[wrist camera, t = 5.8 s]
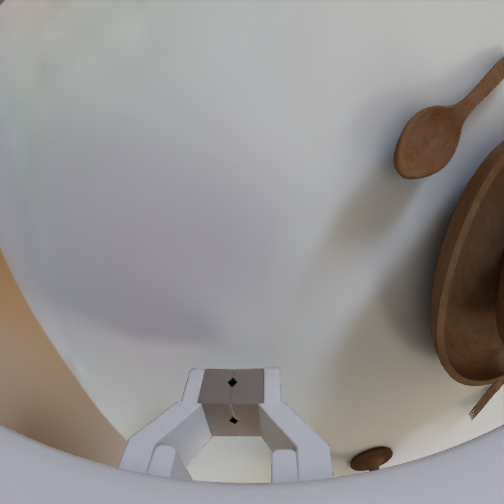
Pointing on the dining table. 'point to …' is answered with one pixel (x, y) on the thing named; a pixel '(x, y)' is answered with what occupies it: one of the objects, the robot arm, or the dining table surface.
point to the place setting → (461, 252)
